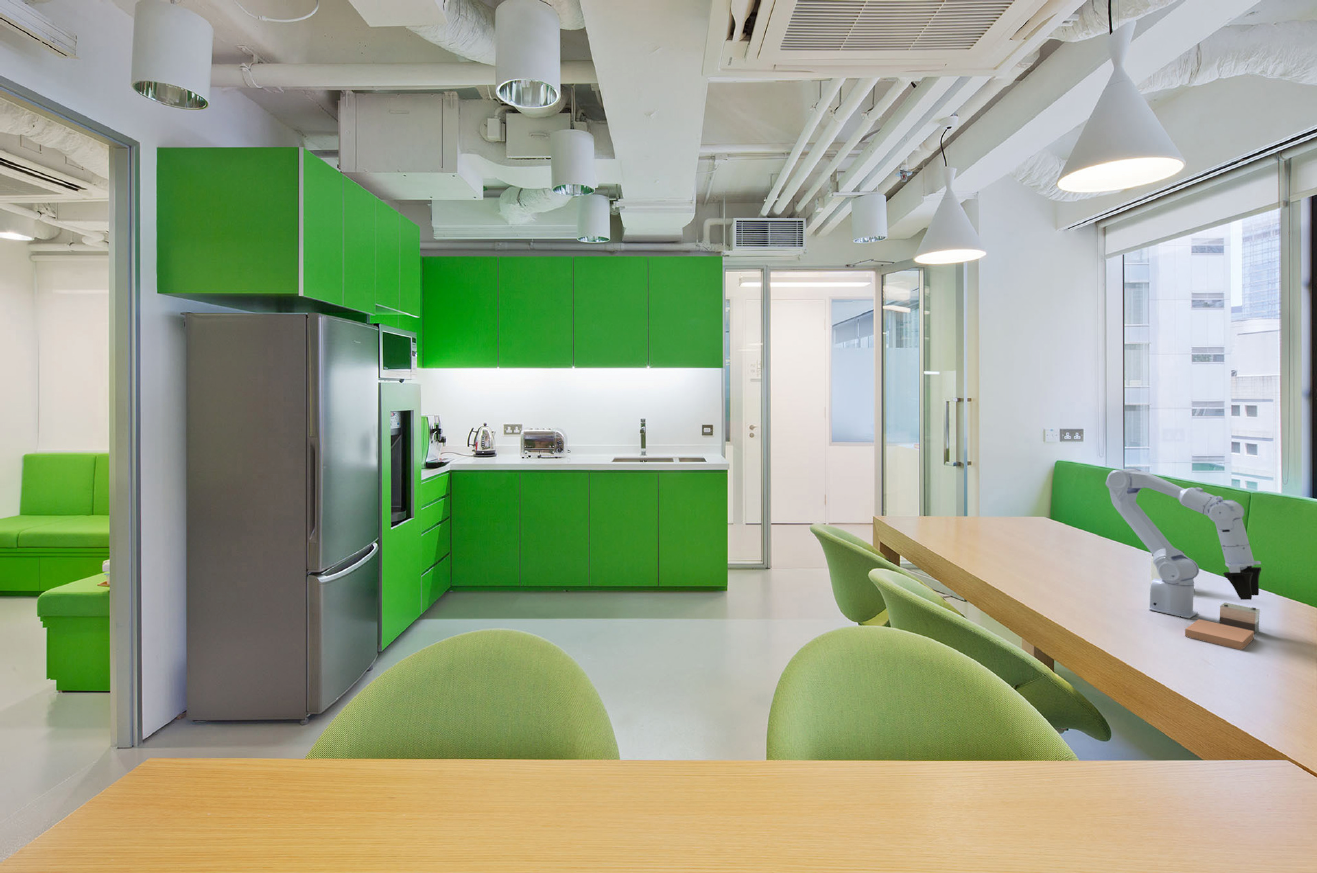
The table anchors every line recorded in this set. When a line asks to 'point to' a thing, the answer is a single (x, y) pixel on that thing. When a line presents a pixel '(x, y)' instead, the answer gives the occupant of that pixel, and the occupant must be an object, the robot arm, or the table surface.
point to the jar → (1154, 571)
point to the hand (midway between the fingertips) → (1249, 597)
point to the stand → (1220, 634)
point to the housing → (1240, 616)
